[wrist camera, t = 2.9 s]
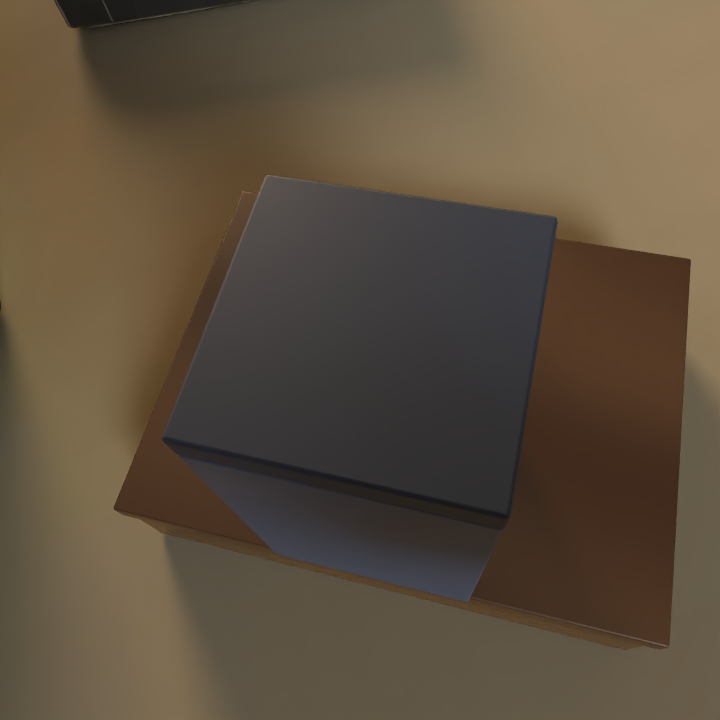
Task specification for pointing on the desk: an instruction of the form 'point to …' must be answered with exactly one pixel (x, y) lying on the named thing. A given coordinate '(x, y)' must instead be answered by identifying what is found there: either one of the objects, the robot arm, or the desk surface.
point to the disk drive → (128, 10)
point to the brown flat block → (525, 454)
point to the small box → (370, 379)
